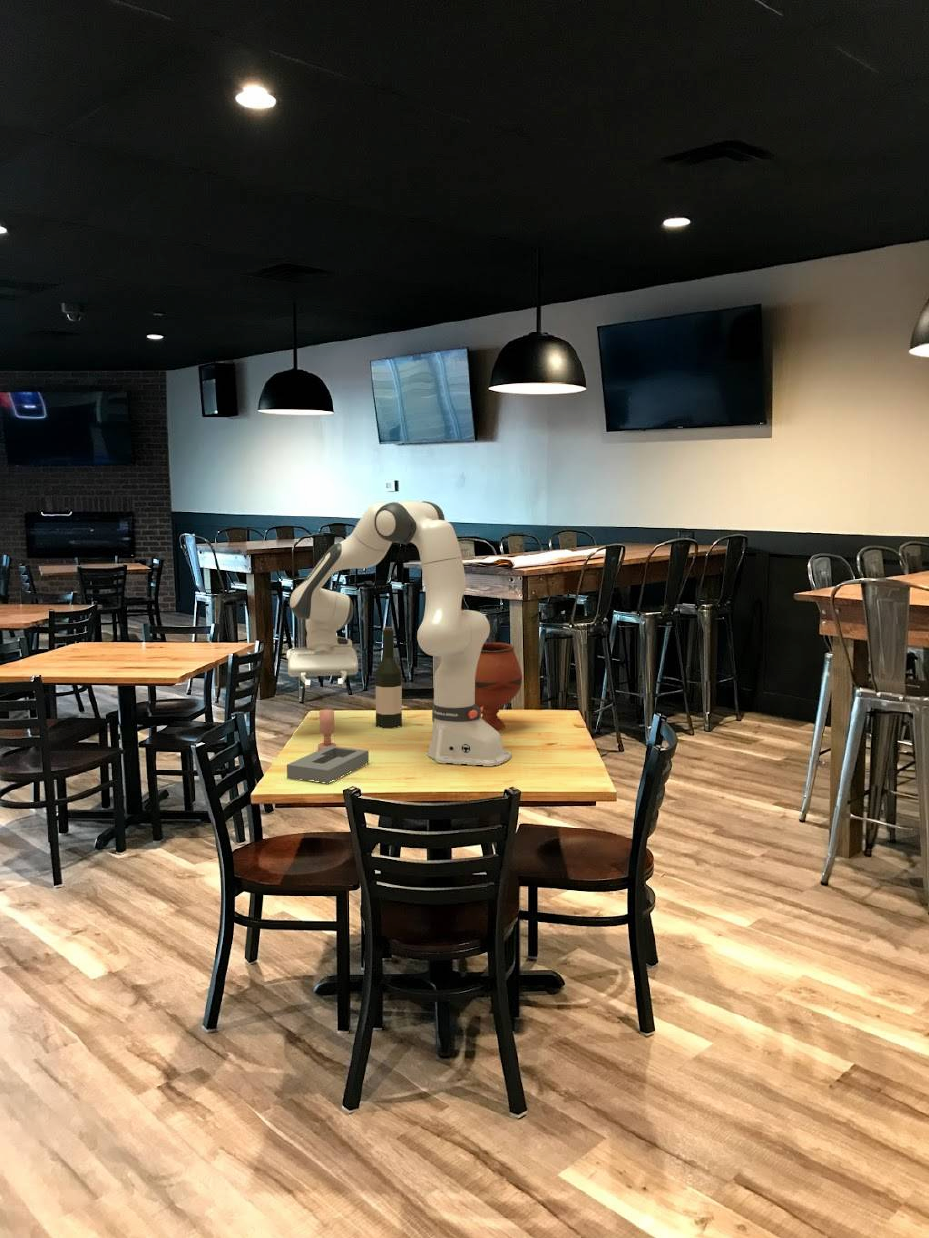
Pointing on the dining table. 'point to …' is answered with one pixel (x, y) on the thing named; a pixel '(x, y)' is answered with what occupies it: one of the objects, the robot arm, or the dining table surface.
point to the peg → (326, 727)
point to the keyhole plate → (327, 764)
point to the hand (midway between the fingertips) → (324, 686)
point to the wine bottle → (388, 685)
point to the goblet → (496, 680)
